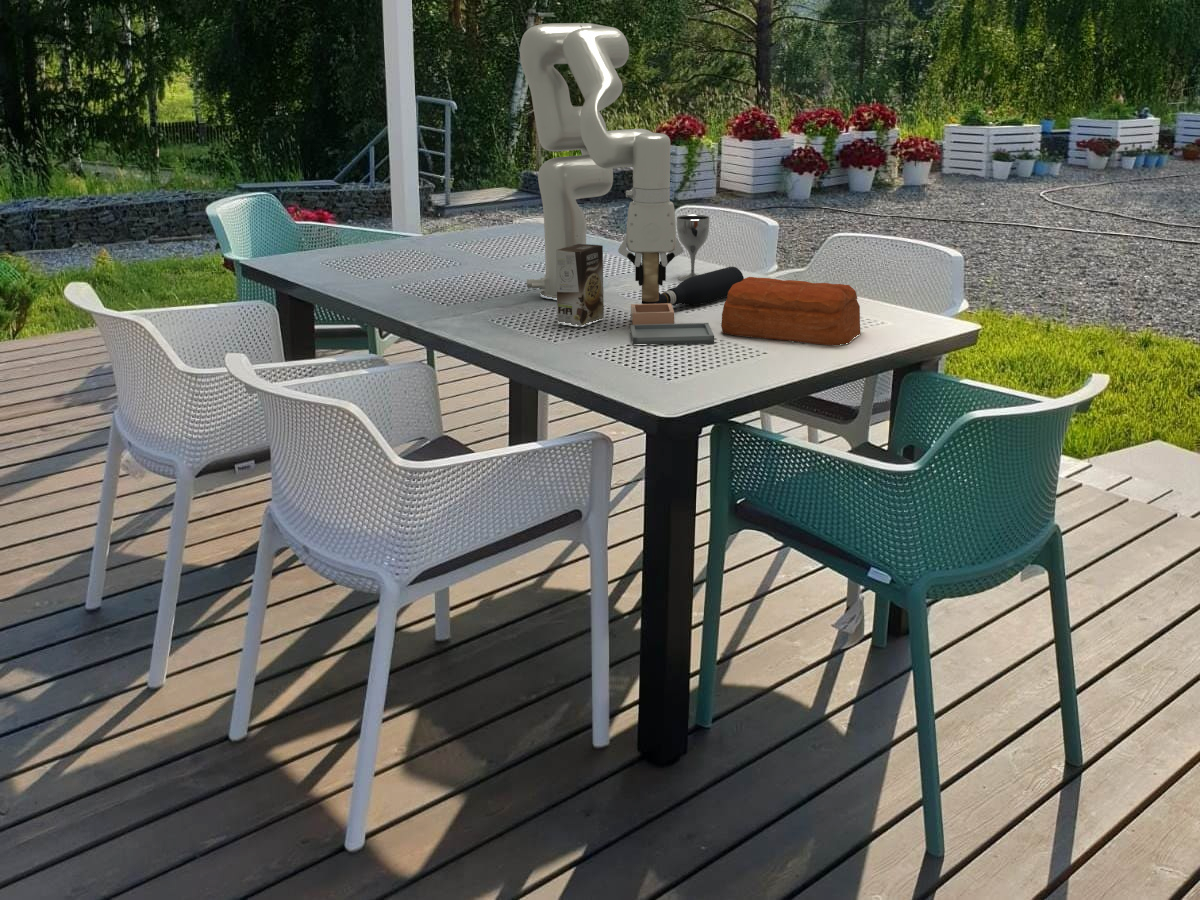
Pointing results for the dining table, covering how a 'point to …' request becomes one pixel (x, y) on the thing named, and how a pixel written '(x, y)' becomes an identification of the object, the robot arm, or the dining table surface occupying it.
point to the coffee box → (580, 284)
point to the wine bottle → (701, 288)
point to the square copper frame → (652, 314)
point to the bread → (792, 311)
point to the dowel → (650, 277)
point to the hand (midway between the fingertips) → (650, 283)
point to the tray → (672, 333)
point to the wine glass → (692, 236)
